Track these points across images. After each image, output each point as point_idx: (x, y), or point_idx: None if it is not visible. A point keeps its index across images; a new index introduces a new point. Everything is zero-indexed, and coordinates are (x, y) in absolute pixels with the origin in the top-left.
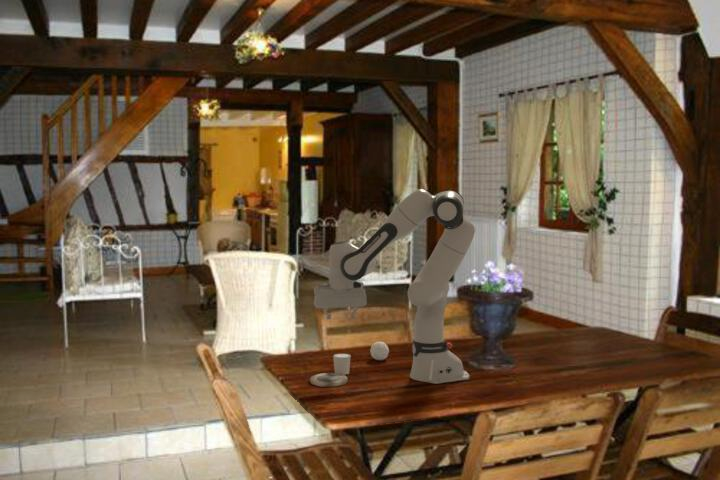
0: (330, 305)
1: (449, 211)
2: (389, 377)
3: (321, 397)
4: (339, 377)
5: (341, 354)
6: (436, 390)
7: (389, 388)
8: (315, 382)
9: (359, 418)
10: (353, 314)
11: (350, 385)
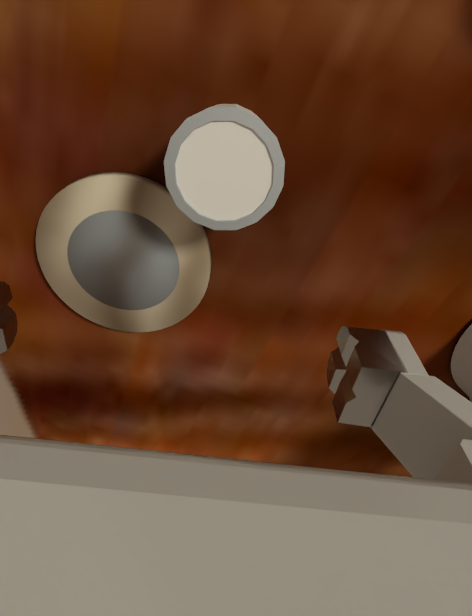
0: None
1: None
2: (394, 298)
3: (73, 398)
4: (173, 274)
5: (232, 138)
6: None
7: (313, 398)
8: (58, 295)
9: None
10: (376, 419)
11: (200, 331)
